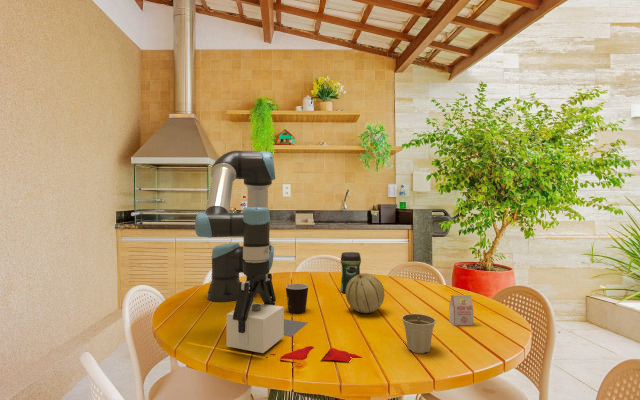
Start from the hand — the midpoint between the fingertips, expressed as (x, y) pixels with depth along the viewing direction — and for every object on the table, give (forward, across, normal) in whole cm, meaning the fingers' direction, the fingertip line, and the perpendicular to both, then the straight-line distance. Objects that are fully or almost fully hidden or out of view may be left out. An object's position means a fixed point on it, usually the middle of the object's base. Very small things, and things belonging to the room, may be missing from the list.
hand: (256, 335), depth 97 cm
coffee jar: (+3, +68, -9) cm, 69 cm away
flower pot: (+4, +16, -44) cm, 47 cm away
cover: (+2, 0, 0) cm, 2 cm away
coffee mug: (+3, +33, +2) cm, 33 cm away
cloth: (+4, +1, -18) cm, 19 cm away
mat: (+3, +16, 0) cm, 16 cm away
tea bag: (+4, +42, -56) cm, 70 cm away
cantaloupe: (+3, +42, -22) cm, 48 cm away
